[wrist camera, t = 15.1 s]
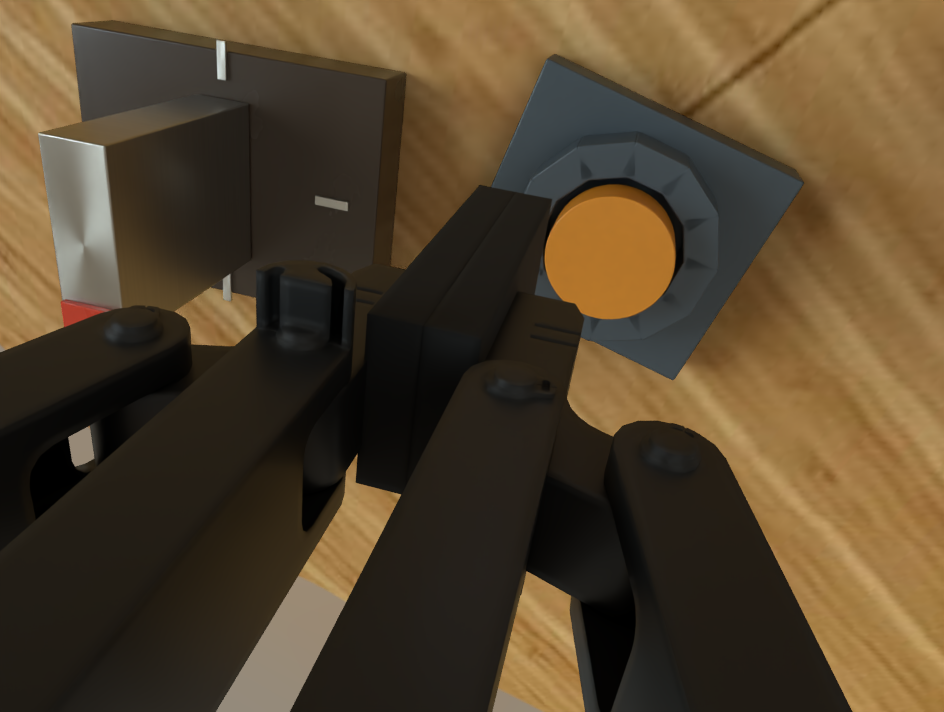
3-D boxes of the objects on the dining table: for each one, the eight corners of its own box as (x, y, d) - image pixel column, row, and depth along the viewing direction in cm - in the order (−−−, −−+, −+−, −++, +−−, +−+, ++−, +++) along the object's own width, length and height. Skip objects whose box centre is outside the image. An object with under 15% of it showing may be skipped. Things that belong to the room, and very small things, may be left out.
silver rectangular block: (197, 93, 29) (30, 133, 22) (249, 103, 29) (98, 147, 21) (204, 250, 32) (61, 333, 25) (251, 260, 32) (120, 348, 24)
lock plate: (132, 251, 36) (95, 270, 34) (110, 10, 31) (66, 13, 29) (386, 309, 34) (366, 333, 32) (408, 62, 29) (385, 69, 27)
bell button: (531, 269, 28) (523, 285, 27) (584, 162, 26) (579, 173, 24) (637, 320, 28) (635, 340, 27) (699, 218, 26) (701, 232, 24)
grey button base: (464, 257, 32) (440, 291, 29) (554, 53, 28) (538, 63, 25) (673, 359, 32) (673, 405, 29) (796, 170, 28) (814, 197, 24)
